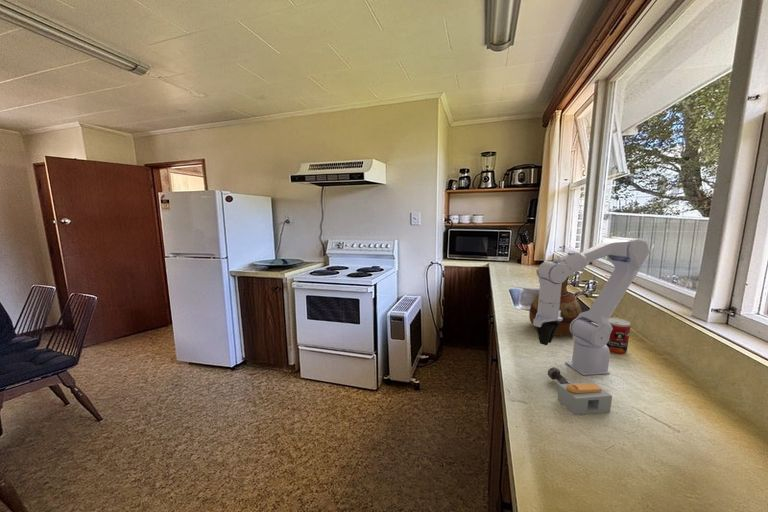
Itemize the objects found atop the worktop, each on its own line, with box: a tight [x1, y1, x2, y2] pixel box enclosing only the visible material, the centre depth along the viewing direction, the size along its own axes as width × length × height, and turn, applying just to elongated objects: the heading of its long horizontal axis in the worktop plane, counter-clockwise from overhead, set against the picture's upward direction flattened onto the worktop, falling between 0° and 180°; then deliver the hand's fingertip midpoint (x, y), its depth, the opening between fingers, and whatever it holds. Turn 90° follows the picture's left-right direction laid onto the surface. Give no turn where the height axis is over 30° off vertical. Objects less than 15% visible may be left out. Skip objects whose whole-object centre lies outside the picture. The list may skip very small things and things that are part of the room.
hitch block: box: [556, 381, 613, 416], centre depth 77 cm, size 10×6×5 cm, turn 96°
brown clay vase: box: [528, 276, 583, 336], centre depth 124 cm, size 20×20×30 cm
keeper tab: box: [567, 382, 603, 393], centre depth 76 cm, size 8×3×1 cm, turn 96°
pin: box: [547, 367, 572, 384], centre depth 83 cm, size 11×3×3 cm, turn 6°
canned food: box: [606, 316, 631, 355], centre depth 108 cm, size 8×8×11 cm
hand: (545, 342), depth 92 cm, fingers closed
